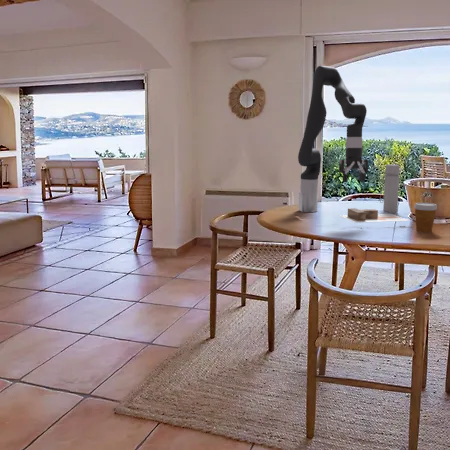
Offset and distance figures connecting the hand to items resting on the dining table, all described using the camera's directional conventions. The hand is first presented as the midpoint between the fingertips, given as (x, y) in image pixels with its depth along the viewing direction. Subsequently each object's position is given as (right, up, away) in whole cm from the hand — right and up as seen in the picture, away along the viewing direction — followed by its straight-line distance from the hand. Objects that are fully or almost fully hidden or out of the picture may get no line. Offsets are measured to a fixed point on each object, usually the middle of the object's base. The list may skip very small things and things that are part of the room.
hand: (353, 181), depth 258 cm
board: (+12, -18, +8) cm, 23 cm away
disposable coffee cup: (+27, -23, -18) cm, 40 cm away
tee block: (+7, -17, +7) cm, 20 cm away
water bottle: (+26, -14, +32) cm, 43 cm away
